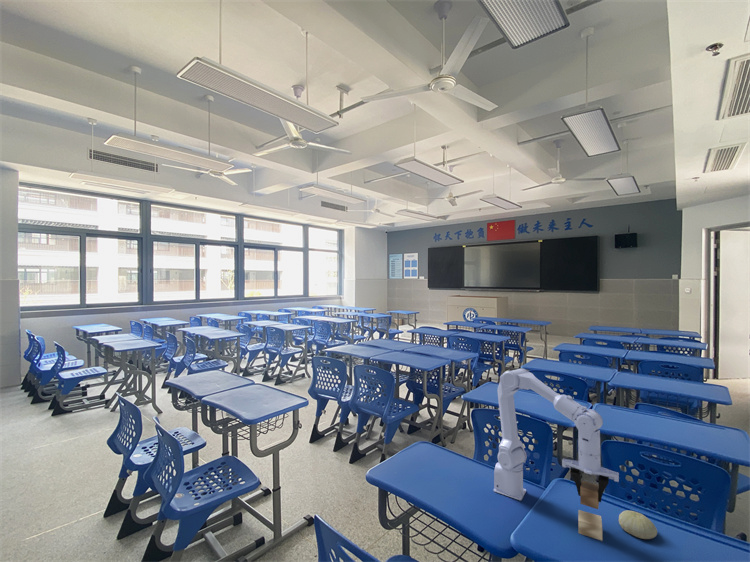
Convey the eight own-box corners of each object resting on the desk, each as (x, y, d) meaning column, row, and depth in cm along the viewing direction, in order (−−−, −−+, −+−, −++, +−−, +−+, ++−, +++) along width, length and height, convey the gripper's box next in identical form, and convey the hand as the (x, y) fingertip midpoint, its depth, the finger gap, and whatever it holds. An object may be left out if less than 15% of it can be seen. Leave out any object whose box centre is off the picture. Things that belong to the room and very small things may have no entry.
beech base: (578, 533, 103) (578, 520, 103) (578, 522, 108) (578, 509, 108) (602, 541, 100) (602, 527, 100) (601, 529, 105) (601, 516, 105)
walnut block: (580, 503, 104) (580, 486, 104) (582, 497, 108) (581, 480, 108) (598, 509, 101) (597, 492, 102) (599, 502, 105) (598, 485, 105)
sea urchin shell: (644, 540, 98) (624, 507, 103) (625, 546, 103) (608, 515, 109) (667, 534, 100) (647, 503, 106) (648, 540, 105) (629, 510, 111)
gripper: (560, 449, 106) (560, 494, 105) (617, 463, 97) (618, 513, 97) (563, 442, 112) (564, 484, 111) (618, 454, 103) (619, 501, 103)
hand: (589, 497), depth 104 cm, fingers closed on walnut block, 4 cm apart
